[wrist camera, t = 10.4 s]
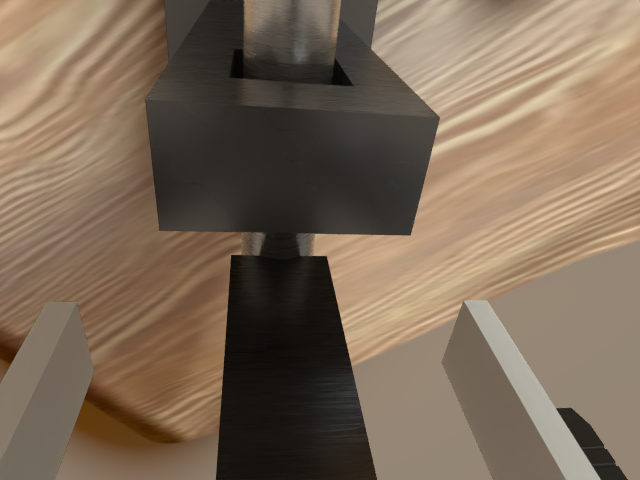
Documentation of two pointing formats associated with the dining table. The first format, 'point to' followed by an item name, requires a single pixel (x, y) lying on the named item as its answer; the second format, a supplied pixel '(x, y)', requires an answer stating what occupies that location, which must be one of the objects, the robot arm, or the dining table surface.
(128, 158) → the dining table surface
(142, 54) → the dining table surface
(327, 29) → the shaft
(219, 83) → the shaft stand
